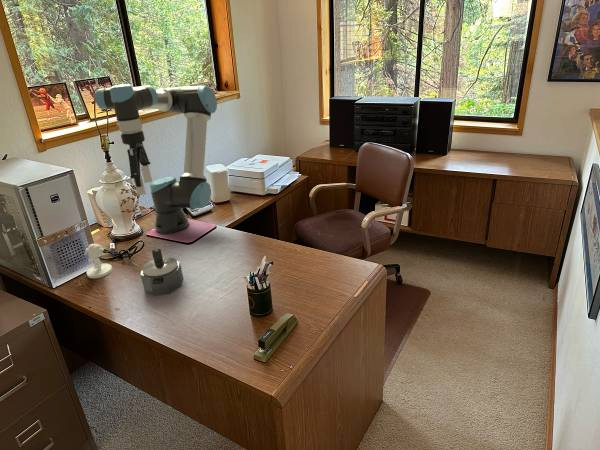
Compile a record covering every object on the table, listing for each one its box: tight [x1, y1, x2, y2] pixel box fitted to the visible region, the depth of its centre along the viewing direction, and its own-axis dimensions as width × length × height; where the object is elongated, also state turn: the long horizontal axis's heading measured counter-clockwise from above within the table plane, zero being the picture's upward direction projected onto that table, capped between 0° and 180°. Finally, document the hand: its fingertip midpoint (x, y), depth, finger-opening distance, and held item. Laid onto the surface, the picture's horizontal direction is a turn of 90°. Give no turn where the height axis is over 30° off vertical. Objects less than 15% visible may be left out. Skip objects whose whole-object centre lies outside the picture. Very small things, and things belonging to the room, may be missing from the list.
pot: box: [140, 260, 184, 297], centre depth 153 cm, size 16×13×7 cm
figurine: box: [84, 243, 113, 279], centre depth 164 cm, size 9×9×12 cm
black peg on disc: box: [141, 248, 178, 277], centre depth 150 cm, size 12×12×7 cm
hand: (145, 188), depth 159 cm, fingers open, 13 cm apart
